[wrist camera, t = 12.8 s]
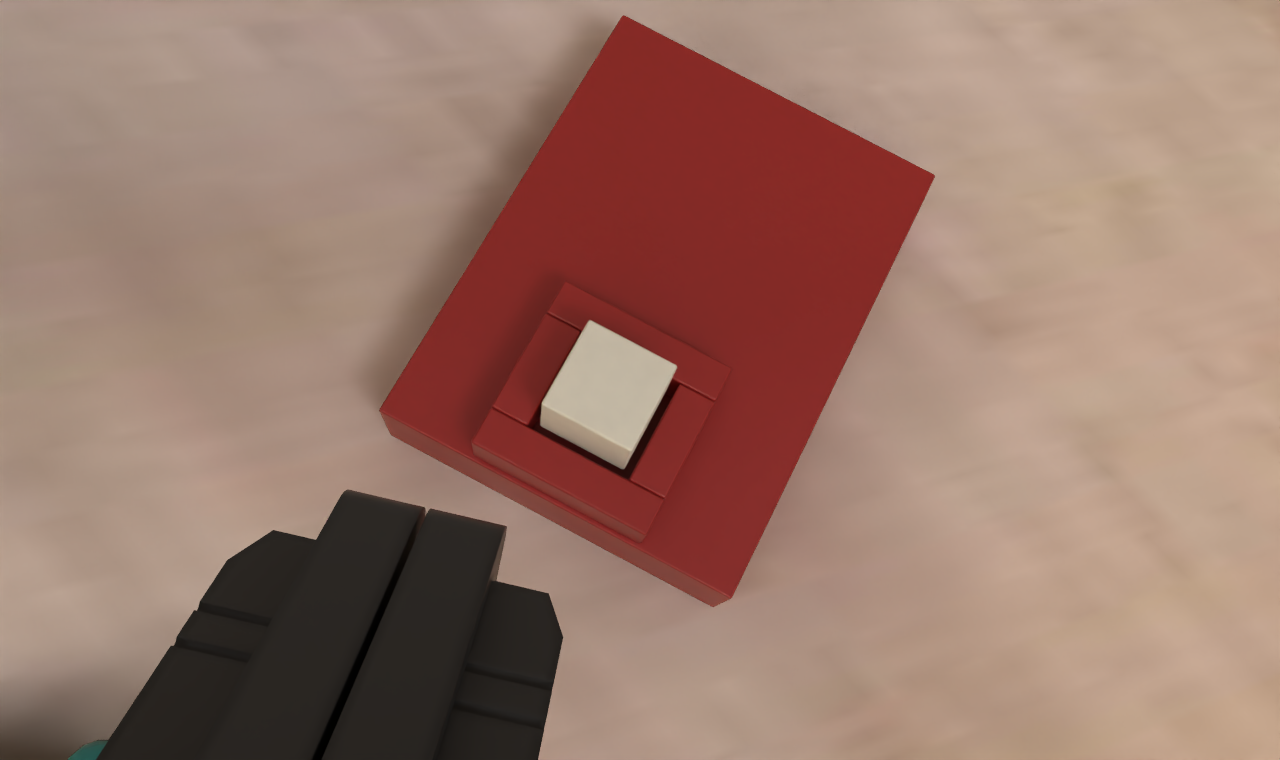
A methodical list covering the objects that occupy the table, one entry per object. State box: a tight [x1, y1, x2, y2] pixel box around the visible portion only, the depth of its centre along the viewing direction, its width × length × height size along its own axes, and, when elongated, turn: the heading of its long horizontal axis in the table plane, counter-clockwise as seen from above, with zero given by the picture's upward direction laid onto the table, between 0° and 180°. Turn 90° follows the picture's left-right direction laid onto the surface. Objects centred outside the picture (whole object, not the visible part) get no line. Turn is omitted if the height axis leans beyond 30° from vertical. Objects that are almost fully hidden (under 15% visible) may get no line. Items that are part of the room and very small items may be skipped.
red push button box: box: [379, 15, 935, 607], centre depth 37 cm, size 12×16×5 cm
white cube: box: [540, 320, 677, 469], centre depth 32 cm, size 3×3×3 cm
